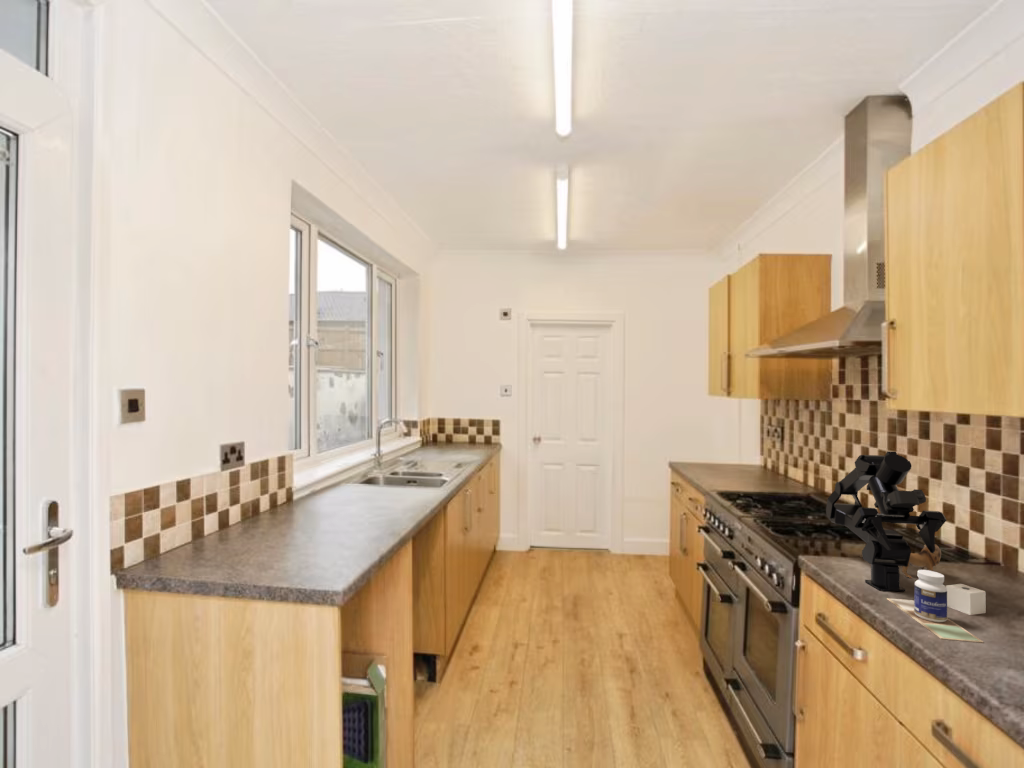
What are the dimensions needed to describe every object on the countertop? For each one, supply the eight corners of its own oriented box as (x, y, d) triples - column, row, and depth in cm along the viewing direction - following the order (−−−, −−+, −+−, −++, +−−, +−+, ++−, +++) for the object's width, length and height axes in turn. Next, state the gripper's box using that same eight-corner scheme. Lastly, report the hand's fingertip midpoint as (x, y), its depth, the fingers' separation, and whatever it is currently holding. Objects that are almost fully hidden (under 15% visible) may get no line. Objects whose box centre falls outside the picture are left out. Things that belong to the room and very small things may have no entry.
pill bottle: (921, 621, 113) (921, 575, 113) (909, 610, 118) (909, 567, 118) (952, 625, 111) (952, 578, 111) (939, 614, 116) (939, 570, 117)
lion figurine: (930, 572, 146) (930, 540, 146) (947, 579, 140) (947, 546, 140) (881, 573, 145) (881, 541, 145) (897, 580, 139) (897, 546, 139)
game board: (886, 599, 126) (886, 598, 126) (921, 601, 124) (921, 600, 124) (940, 638, 105) (940, 637, 105) (983, 642, 104) (983, 641, 104)
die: (946, 606, 122) (946, 585, 122) (961, 604, 123) (961, 583, 123) (970, 615, 117) (970, 593, 117) (985, 613, 118) (985, 591, 118)
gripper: (857, 475, 129) (880, 530, 118) (941, 478, 126) (972, 535, 115) (843, 500, 137) (863, 554, 126) (922, 504, 133) (950, 559, 122)
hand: (911, 550), depth 122 cm, fingers open, 9 cm apart
